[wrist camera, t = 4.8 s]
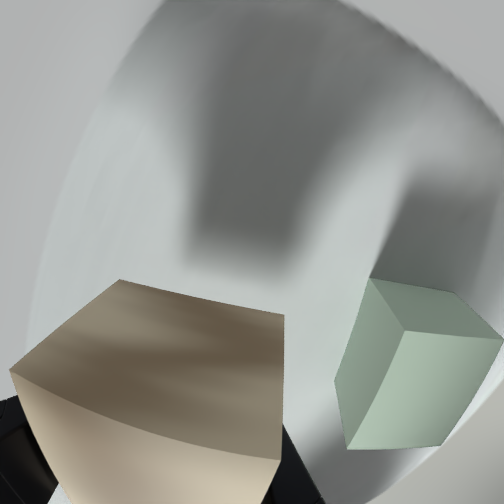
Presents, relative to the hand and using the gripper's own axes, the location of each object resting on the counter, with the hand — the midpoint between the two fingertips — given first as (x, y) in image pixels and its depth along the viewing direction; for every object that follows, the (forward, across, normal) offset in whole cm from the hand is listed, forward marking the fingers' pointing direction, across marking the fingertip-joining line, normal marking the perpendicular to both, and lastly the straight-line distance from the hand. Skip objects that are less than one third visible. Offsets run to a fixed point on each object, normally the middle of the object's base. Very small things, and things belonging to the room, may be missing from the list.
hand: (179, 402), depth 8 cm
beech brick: (+1, 0, 0) cm, 1 cm away
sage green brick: (+7, -9, 0) cm, 11 cm away
